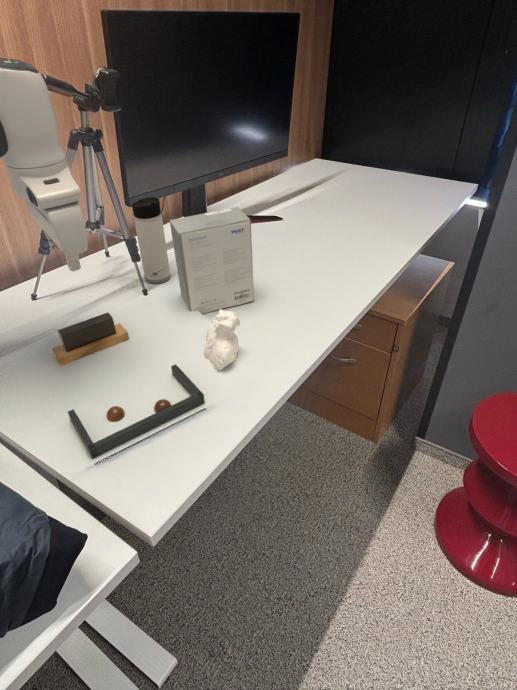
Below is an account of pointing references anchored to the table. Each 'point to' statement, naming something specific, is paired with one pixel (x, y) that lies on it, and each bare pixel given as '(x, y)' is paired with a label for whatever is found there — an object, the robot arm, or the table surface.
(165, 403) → the brown ball
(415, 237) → the table surface
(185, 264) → the hard drive box
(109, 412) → the brown chestnut
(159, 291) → the table surface
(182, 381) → the catcher
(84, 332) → the brush
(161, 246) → the travel mug
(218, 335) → the bust
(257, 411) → the table surface
